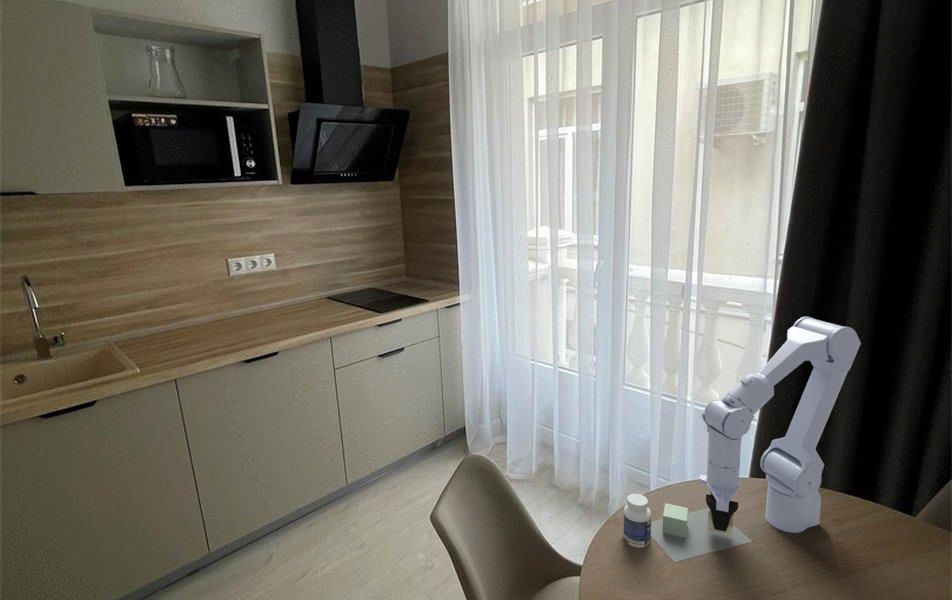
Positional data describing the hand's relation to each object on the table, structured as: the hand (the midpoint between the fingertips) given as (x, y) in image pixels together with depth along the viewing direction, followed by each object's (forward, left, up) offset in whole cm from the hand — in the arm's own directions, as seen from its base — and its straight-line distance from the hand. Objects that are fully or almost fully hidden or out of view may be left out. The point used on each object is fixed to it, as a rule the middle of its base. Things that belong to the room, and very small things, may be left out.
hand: (719, 521), depth 98 cm
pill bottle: (+16, -5, -4) cm, 17 cm away
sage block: (+7, -5, -3) cm, 9 cm away
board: (+4, -2, -4) cm, 6 cm away
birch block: (0, 0, -1) cm, 1 cm away
